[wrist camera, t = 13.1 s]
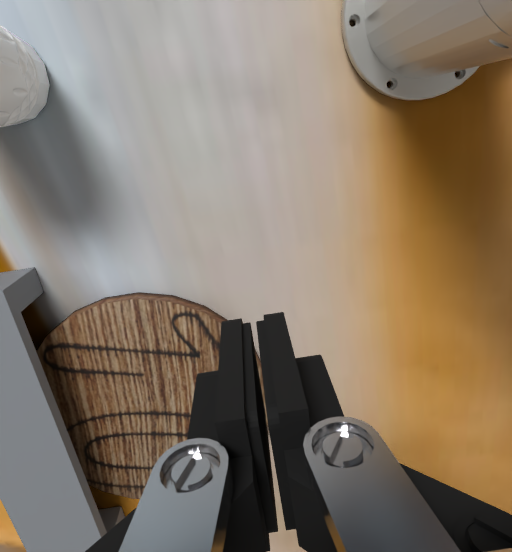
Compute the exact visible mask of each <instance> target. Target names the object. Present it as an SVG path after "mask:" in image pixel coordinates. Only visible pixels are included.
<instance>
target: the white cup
mask: <svg viewBox="0 0 512 552" xmlns="http://www.w3.org/2000/svg"><path fill="white" fill-rule="evenodd" d="M49 87H50V84H49V80H48V76H47V72H46V68H45V64H44V62H43V61H42V60H41V58H40V57H39V55H38V54H37V53H36V51H35V50H34V48H33V47H32V46H31V45H30V44H29V43H27V42H26V41H24V40H23V39H21V38H20V37H18V36H17V35H15V34H13V33H12V32H10V31H8V30H7V29H6V28H4V27H3V26H1V25H0V127H5V126H9V125H18V124H21V123H23V122H26V121H29V120H31V119H34V118H36V116H37V115H38V114H39V113H40V111H41V110H42V109H43V108H44V106H45V105H46V103H47V97H48V92H49Z"/></svg>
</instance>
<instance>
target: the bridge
mask: <svg viewBox="0 0 512 552" xmlns="http://www.w3.org/2000/svg"><path fill="white" fill-rule="evenodd" d="M42 293H43V289H42V286H41V283H40V281H39V278H38V275H37V272H36V270H35V267H34V268H28V269H21V270H15V271H9V272H2V273H0V499H1V501H2V503H3V505H4V507H5V509H6V511H7V513H8V515H9V517H10V519H11V521H12V523H13V525H14V527H15V529H16V531H17V533H18V535H19V537H20V539H21V541H22V543H23V545H24V547H25V549H26V551H27V552H85V551H86V550H87V549H88V548H90V547H91V546H92V545H93V544H94V543H95V542H97V541H98V540H99V539H100V538H101V537H103V536H104V535H105V534H106V533H107V532H108V531H110V530H111V529H112V528H113V527H114V526H115V525H117V524H118V523H119V522H120V521H121V520H123V519H124V518H125V516H124V513H123V510H122V508H121V506H120V507H113V508H106V509H100V510H98V508H97V506H96V503H95V501H94V498H93V496H92V493H91V491H90V488H89V485H88V483H87V480H86V478H85V475H84V473H83V470H82V468H81V465H80V462H79V460H78V457H77V455H76V452H75V450H74V447H73V444H72V442H71V439H70V437H69V434H68V432H67V429H66V427H65V424H64V421H63V419H62V416H61V414H60V411H59V409H58V406H57V404H56V401H55V398H54V396H53V393H52V391H51V388H50V386H49V383H48V381H47V378H46V375H45V373H44V370H43V368H42V365H41V363H40V360H39V357H38V355H37V352H36V350H35V347H34V345H33V342H32V340H31V337H30V334H29V332H28V329H27V327H26V324H25V322H24V319H23V317H22V314H21V312H22V311H23V310H24V309H25V308H26V307H27V306H28V305H29V304H31V303H32V302H33V301H34V300H35V299H36V298H37V297H39V296H40V295H41V294H42Z"/></svg>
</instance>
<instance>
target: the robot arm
mask: <svg viewBox="0 0 512 552" xmlns="http://www.w3.org/2000/svg"><path fill="white" fill-rule="evenodd" d="M350 20H353V21H354V23H355V24H354V26H353V27H351V26H350V24H349V21H350ZM341 23H342V34H343V39H344V45H345V48H346V51H347V53H348V56H349V59H350V61H351V63H352V65H353V66H354V68H355V69H356V71H357V73H358V74H359V75H360V76H361V77H362V79H363V80H364V81H365V82H366V83H367V84H368V85H369V86H371V87H372V88H374V89H375V90H377V91H378V92H380V93H381V94H384V95H386V96H389V97H391V98H395V99H401V100H407V101H408V100H423V99H428V98H434V97H436V96H439V95H442V94H444V93H447V92H449V91H451V90H452V89H454V88H456V87H457V86H459V85H461V84H462V83H463V82H464V81H466V80H467V79H468V78H469V77H470V76H471V75H473V74H474V73H475V71H476V70H477V69H478V68H479V67H480V66H481V65H485V64H489V63H493V62H497V61H502V60H506V59H510V58H512V0H343V3H342V10H341ZM455 71H456V72H457V76H456V77H455ZM388 81H389V82H390V83H391V86H390V88H388V87H387V82H388ZM256 323H257V332H258V341H259V350H260V359H261V368H262V377H263V386H264V395H265V404H266V412H267V419H268V426H269V432H270V438H271V444H272V450H273V456H274V462H275V468H276V474H277V479H278V485H279V491H280V497H281V503H282V509H283V515H284V521H285V527H286V530H291V529H296V531H297V537H298V544H299V546H300V547H302V548H303V549H304V550H306V551H307V552H512V515H510V514H509V513H507V512H505V511H502V510H500V509H498V508H496V507H494V506H492V505H489V504H487V503H485V502H483V501H481V500H478V499H476V498H474V497H472V496H470V495H468V494H465V493H463V492H461V491H459V490H457V489H455V488H452V487H450V486H448V485H446V484H444V483H441V482H439V481H437V480H435V479H433V478H431V477H428V476H426V475H424V474H422V473H420V472H418V471H415V470H413V469H411V468H409V467H407V466H405V465H402V464H400V463H399V462H398V461H397V459H396V458H395V456H394V455H393V454H392V452H391V451H390V449H389V448H388V446H387V445H386V443H385V442H384V441H383V439H382V438H381V436H380V435H379V433H378V432H377V431H376V430H375V429H374V428H373V427H372V426H370V425H369V424H367V423H365V422H364V421H362V420H358V419H355V418H352V417H344V415H343V412H342V409H341V407H340V404H339V401H338V399H337V396H336V393H335V391H334V388H333V385H332V383H331V380H330V377H329V375H328V372H327V369H326V367H325V364H324V361H323V359H322V356H321V355H315V356H308V357H302V358H295V356H294V352H293V348H292V344H291V340H290V336H289V332H288V329H287V325H286V321H285V317H284V313H283V312H280V313H274V314H267V315H264V320H263V321H257V322H256ZM271 532H278V525H277V516H276V506H275V497H274V488H273V478H272V469H271V460H270V450H269V441H268V432H267V422H266V414H265V407H264V401H263V395H262V389H261V383H260V377H259V371H258V365H257V359H256V353H255V347H254V342H253V336H252V330H251V324H250V323H244V324H243V322H242V319H235V320H229V321H222V322H221V335H220V350H219V366H218V370H217V371H210V372H204V373H198V374H197V377H196V383H195V390H194V396H193V403H192V409H191V416H190V423H189V429H188V436H187V440H186V441H183V442H180V443H178V444H176V445H174V446H173V447H171V448H170V449H168V450H167V451H166V452H165V453H164V454H163V455H162V456H161V457H160V458H159V459H158V461H157V462H156V464H155V466H154V467H153V469H152V472H151V474H150V477H149V479H148V482H147V484H146V486H145V489H144V491H143V494H142V496H141V499H140V501H139V503H138V506H137V508H135V509H134V510H133V511H132V512H131V513H130V514H128V515H127V516H126V517H125V518H124V519H123V520H121V521H120V522H119V523H118V524H117V525H115V526H114V527H113V528H112V529H111V530H110V531H108V532H107V533H106V534H105V535H104V536H103V537H101V538H100V539H99V540H98V541H97V542H95V543H94V544H93V545H92V546H91V547H90V548H88V549H87V550H86V551H85V552H266V551H270V543H269V533H271Z"/></svg>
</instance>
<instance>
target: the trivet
mask: <svg viewBox="0 0 512 552" xmlns="http://www.w3.org/2000/svg"><path fill="white" fill-rule="evenodd" d="M222 321H228V320H227V319H225V318H223V317H222V316H220V315H219V314H217V313H215V312H214V311H212V310H211V309H209V308H208V307H206V306H204V305H201V304H198V303H195V302H192V301H189V300H186V299H183V298H180V297H177V296H174V295H163V294H151V293H139V292H138V293H132V294H126V295H119V296H113V297H107V298H103V299H101V300H99V301H97V302H94V303H92V304H90V305H87V306H85V307H83V308H80V309H78V310H76V311H75V312H73V313H72V314H71V315H70V316H69V317H67V318H66V319H65V320H64V321H62V322H61V323H60V324H59V325H58V326H56V327H55V328H54V329H53V330H52V331H51V332H50V333H49V334H48V335H47V336H46V338H45V339H44V341H43V342H42V344H41V345H40V347H39V349H38V350H37V355H38V357H39V360H40V363H41V365H42V368H43V370H44V373H45V375H46V378H47V381H48V383H49V386H50V388H51V391H52V393H53V396H54V398H55V401H56V404H57V406H58V409H59V411H60V414H61V416H62V419H63V421H64V424H65V427H66V429H67V432H68V434H69V437H70V439H71V442H72V444H73V447H74V450H75V452H76V455H77V457H78V460H79V462H80V465H81V468H82V470H83V473H84V475H85V478H86V480H87V483H88V485H90V486H93V487H95V488H97V489H99V490H101V491H103V492H107V493H111V494H115V495H120V496H124V497H128V498H132V499H141V496H142V494H143V491H144V489H145V486H146V484H147V482H148V479H149V477H150V474H151V472H152V469H153V467H154V466H155V464H156V462H157V461H158V459H159V458H160V457H161V456H162V455H163V454H164V453H165V452H166V451H167V450H168V449H170V448H171V447H173V446H174V445H176V444H178V443H180V442H183V441H186V440H187V436H188V429H189V423H190V416H191V409H192V403H193V396H194V390H195V383H196V377H197V374H198V373H204V372H210V371H217V370H218V366H219V350H220V335H221V322H222ZM255 353H256V351H255ZM256 359H257V365H258V371H259V377H260V383H261V389H262V395H263V401H264V407H265V414H266V422H267V424H268V419H267V412H266V404H265V395H264V386H263V377H262V368H261V361H260V359H259V357H258V355H257V353H256Z"/></svg>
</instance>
